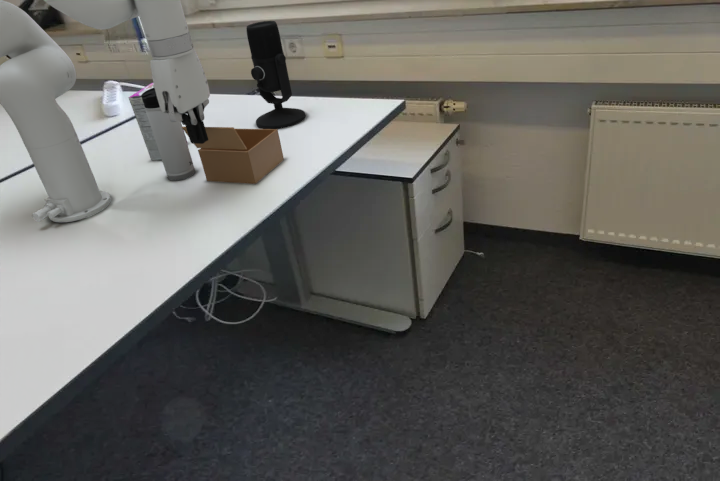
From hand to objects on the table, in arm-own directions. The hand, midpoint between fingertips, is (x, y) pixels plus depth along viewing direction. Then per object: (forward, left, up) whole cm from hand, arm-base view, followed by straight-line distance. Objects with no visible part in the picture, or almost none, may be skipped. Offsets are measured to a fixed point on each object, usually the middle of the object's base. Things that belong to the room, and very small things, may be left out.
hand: (199, 141), depth 112 cm
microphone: (+43, +8, -12) cm, 46 cm away
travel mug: (+9, +15, -12) cm, 21 cm away
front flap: (+5, 0, -1) cm, 5 cm away
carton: (+12, 0, -12) cm, 17 cm away
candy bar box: (+20, +28, -12) cm, 37 cm away
